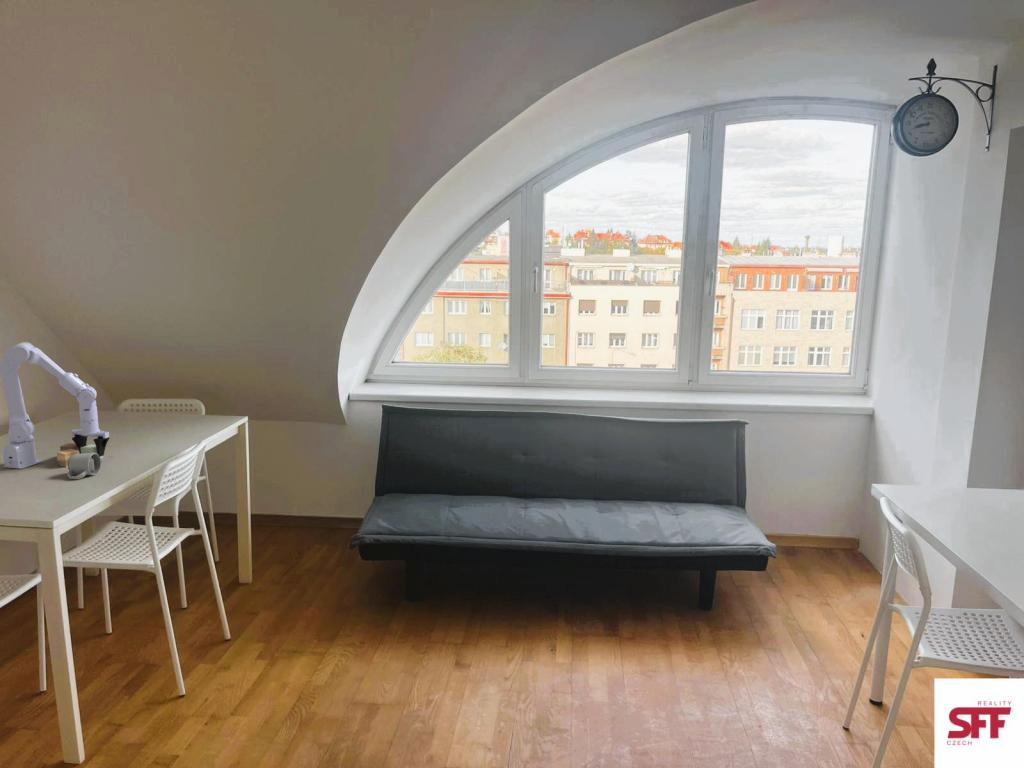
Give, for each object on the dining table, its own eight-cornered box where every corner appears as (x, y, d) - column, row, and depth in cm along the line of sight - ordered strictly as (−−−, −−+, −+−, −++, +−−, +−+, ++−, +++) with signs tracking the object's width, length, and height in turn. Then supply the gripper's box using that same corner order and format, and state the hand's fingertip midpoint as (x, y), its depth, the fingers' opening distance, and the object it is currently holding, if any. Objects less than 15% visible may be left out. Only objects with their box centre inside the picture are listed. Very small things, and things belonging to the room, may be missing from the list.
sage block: (93, 461, 275) (92, 448, 274) (81, 460, 276) (80, 447, 275) (103, 458, 280) (102, 445, 279) (91, 457, 281) (90, 444, 280)
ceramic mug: (79, 470, 263) (77, 450, 262) (102, 471, 263) (100, 450, 262) (61, 480, 253) (58, 458, 251) (85, 481, 253) (82, 459, 251)
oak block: (66, 467, 267) (64, 453, 267) (57, 465, 270) (56, 452, 269) (79, 464, 272) (78, 450, 271) (71, 462, 274) (70, 448, 273)
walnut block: (74, 459, 277) (73, 446, 276) (61, 459, 277) (60, 446, 277) (82, 455, 282) (81, 443, 281) (69, 455, 282) (68, 442, 281)
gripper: (113, 418, 277) (116, 453, 280) (80, 416, 281) (83, 451, 283) (99, 422, 271) (102, 458, 273) (65, 420, 274) (69, 456, 276)
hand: (92, 455), depth 278 cm, fingers open, 7 cm apart
